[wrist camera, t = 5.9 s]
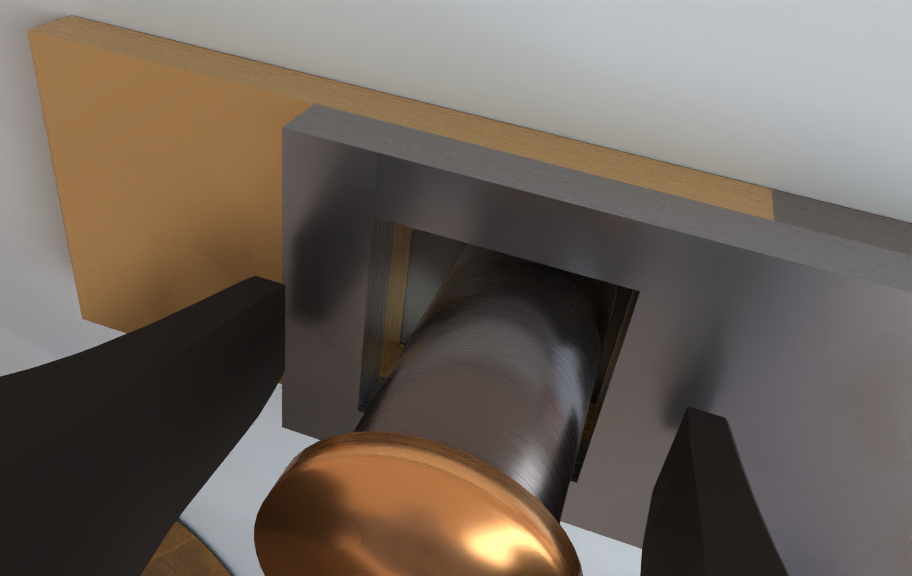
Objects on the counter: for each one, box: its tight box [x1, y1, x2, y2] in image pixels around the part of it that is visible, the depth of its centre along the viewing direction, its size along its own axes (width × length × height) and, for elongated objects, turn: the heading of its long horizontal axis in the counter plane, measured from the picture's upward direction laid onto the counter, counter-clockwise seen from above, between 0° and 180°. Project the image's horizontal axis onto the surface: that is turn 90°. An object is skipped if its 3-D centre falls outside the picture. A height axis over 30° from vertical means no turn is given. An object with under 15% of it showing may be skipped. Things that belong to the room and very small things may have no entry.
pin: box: [254, 243, 618, 576], centre depth 13 cm, size 4×4×8 cm
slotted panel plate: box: [27, 16, 912, 576], centre depth 15 cm, size 7×19×2 cm, turn 83°
